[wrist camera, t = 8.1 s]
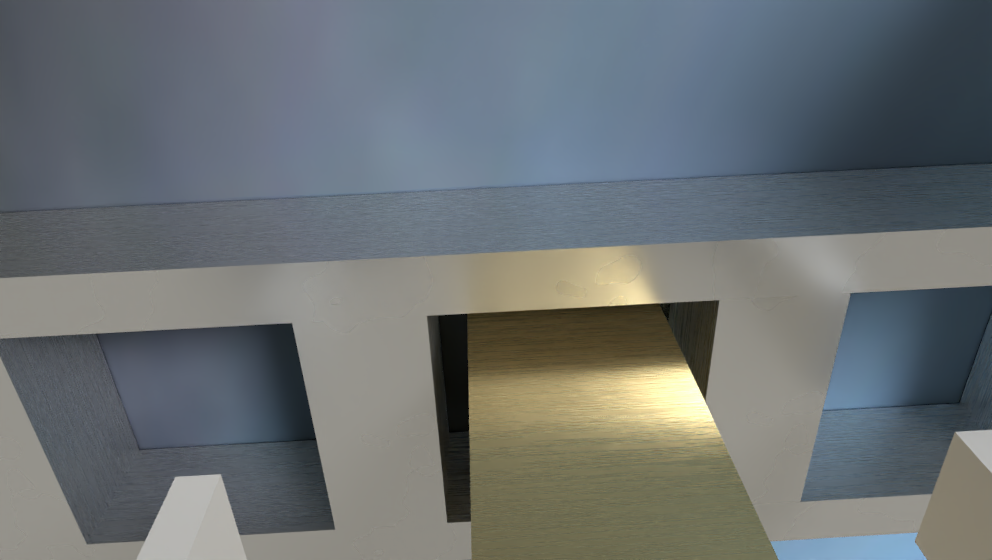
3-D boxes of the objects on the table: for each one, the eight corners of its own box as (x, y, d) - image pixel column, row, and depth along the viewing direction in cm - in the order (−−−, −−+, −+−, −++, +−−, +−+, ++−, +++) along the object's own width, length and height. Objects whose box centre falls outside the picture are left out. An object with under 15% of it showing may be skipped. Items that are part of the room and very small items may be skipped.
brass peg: (466, 272, 16) (479, 969, 6) (640, 263, 16) (952, 935, 6) (475, 409, 18) (496, 1112, 8) (630, 400, 18) (853, 1084, 8)
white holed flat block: (-107, 218, 15) (-224, 289, 13) (1193, 153, 16) (1338, 208, 13) (29, 492, 19) (-40, 590, 16) (1063, 432, 20) (1155, 517, 17)
